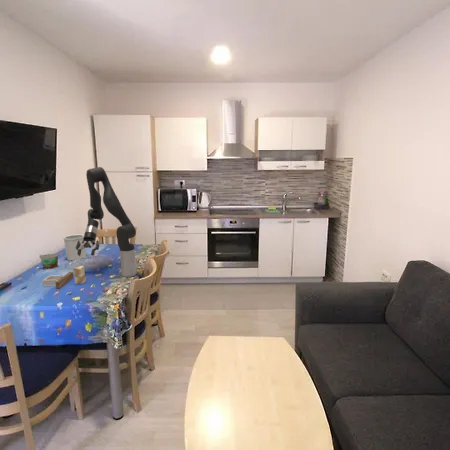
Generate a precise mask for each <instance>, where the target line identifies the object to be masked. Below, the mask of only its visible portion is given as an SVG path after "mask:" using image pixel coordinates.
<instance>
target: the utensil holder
mask: <svg viewBox="0 0 450 450" xmlns="http://www.w3.org/2000/svg"><path fill="white" fill-rule="evenodd" d="M83 238H84V234H82V233H81V234H80V233H75V234H68V235H65V236H63V238H62V239H63V243H64V248H65V255H66V259H67V260H68V261H71V260H73V261H79V259H80V260H83V259H86V257H87V252H86V249H87V248H84V249H83V250H81V255H80V256H78V254H77V253H78V250H77V249H76V245H77V242H78V241H80V242H82V241H83ZM81 245H82V244H81ZM81 245H80V246H81ZM83 247H84V246H83ZM82 258H83V259H82Z"/></svg>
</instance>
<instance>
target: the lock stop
mask: <svg viewBox="0 0 450 450" xmlns="http://www.w3.org/2000/svg"><path fill="white" fill-rule="evenodd" d="M85 272H86V270H85V266H84V265H76V266H75V267H73V278H74V284H75V285H82V284H85V283H86V273H85Z"/></svg>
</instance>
